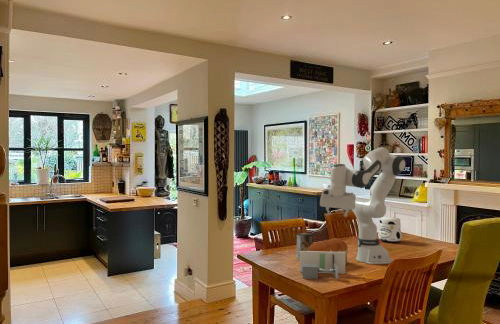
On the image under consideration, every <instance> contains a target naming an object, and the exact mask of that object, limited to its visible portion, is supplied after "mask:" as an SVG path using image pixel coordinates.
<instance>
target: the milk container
mask: <svg viewBox="0 0 500 324" xmlns="http://www.w3.org/2000/svg"><path fill="white" fill-rule="evenodd" d="M401 227H402V226H401V218H399V217H392V216H383V217H382V218H379V229H378V231H377V238H378V239H379V240H381V241H382V242H387V243H399V242H400V241H402V230H401Z"/></svg>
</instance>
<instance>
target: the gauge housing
mask: <svg viewBox="0 0 500 324" xmlns="http://www.w3.org/2000/svg"><path fill="white" fill-rule="evenodd" d="M333 254H334V263H336V265H337V266H338V274H343V275H345V274H346V264H345V252H322V251H300V259H299V273H301V276H302V279H304V280H305V279H306V280H307V279H308V280H318V277H319V275H318V274H334V273H333V272H318V269H333Z"/></svg>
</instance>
